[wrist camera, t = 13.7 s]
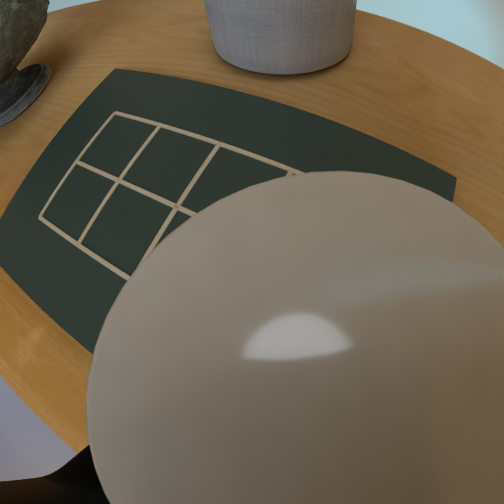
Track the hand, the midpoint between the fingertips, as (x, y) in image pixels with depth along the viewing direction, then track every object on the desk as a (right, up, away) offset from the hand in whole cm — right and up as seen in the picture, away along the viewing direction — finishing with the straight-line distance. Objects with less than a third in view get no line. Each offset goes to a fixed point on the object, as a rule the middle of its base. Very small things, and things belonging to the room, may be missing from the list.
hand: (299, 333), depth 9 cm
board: (-6, +5, +11) cm, 13 cm away
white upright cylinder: (+1, -3, +6) cm, 7 cm away
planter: (+2, +21, +16) cm, 27 cm away
